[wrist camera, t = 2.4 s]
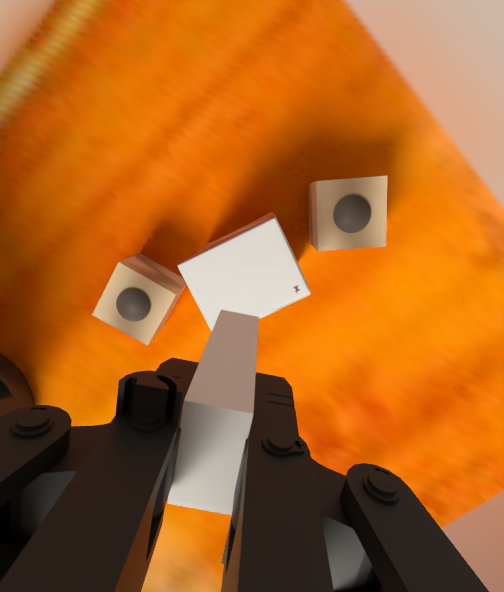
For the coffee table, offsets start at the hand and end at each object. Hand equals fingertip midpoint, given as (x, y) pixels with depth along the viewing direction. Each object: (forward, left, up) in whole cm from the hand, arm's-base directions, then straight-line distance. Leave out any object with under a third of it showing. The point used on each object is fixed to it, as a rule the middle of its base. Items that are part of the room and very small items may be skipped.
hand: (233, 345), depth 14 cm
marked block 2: (+8, +6, -25) cm, 27 cm away
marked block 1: (-10, -6, -25) cm, 28 cm away
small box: (0, 0, -25) cm, 25 cm away
